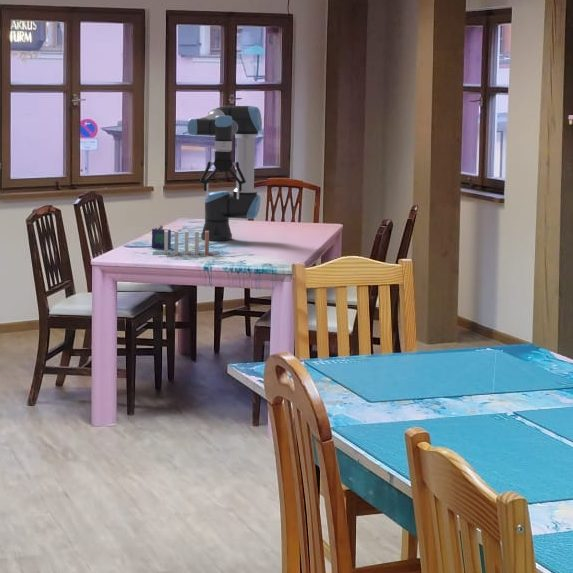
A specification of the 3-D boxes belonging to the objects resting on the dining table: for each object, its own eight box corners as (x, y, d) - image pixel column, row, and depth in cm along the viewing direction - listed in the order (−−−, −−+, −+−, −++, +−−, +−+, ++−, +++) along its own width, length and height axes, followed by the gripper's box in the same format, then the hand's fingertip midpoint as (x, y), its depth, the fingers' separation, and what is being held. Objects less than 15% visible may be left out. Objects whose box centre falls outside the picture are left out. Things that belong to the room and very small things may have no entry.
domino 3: (184, 254, 529) (184, 231, 527) (184, 252, 534) (184, 230, 532) (188, 254, 529) (188, 232, 528) (188, 252, 534) (188, 230, 532)
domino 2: (174, 254, 529) (174, 231, 527) (174, 252, 534) (174, 230, 532) (178, 254, 529) (178, 231, 527) (178, 252, 534) (178, 230, 532)
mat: (152, 255, 525) (152, 254, 525) (152, 252, 535) (152, 251, 535) (220, 256, 528) (220, 255, 528) (219, 252, 538) (219, 252, 538)
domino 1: (164, 254, 528) (164, 231, 527) (164, 252, 533) (164, 230, 531) (167, 254, 528) (168, 231, 527) (167, 252, 533) (168, 230, 532)
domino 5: (205, 254, 530) (205, 232, 528) (204, 252, 535) (205, 230, 533) (208, 254, 530) (209, 232, 529) (208, 252, 535) (208, 230, 533)
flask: (171, 248, 547) (171, 225, 545) (169, 249, 545) (169, 226, 543) (153, 247, 550) (152, 224, 548) (150, 248, 547) (150, 225, 545)
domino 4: (194, 254, 530) (195, 232, 528) (194, 252, 535) (194, 230, 533) (198, 254, 530) (198, 232, 528) (198, 252, 535) (198, 230, 533)
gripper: (195, 150, 521) (194, 199, 524) (252, 151, 523) (251, 199, 527) (194, 149, 528) (194, 197, 532) (250, 150, 531) (249, 198, 534)
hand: (222, 198), depth 529 cm, fingers open, 13 cm apart
